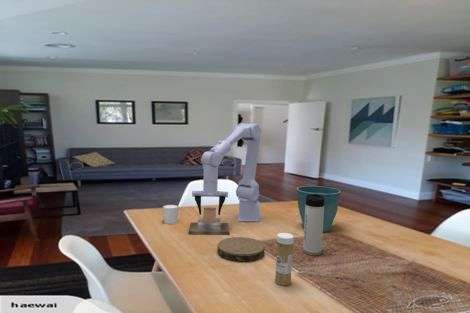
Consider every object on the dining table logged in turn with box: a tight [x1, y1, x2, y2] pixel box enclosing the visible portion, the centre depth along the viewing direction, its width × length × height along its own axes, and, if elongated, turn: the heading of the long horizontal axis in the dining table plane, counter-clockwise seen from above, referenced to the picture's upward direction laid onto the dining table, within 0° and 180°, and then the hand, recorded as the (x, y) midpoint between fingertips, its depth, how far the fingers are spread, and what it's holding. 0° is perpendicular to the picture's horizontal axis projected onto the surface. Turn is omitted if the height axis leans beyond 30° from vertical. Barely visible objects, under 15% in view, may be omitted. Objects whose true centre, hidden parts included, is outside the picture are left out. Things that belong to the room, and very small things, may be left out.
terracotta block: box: [202, 206, 217, 223], centre depth 133 cm, size 5×5×5 cm
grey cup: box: [162, 204, 179, 225], centre depth 142 cm, size 7×7×7 cm
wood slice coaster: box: [216, 236, 265, 263], centre depth 110 cm, size 16×16×3 cm
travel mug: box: [302, 194, 325, 256], centre depth 112 cm, size 6×7×20 cm
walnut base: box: [188, 217, 230, 236], centre depth 133 cm, size 16×12×4 cm
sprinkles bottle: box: [274, 232, 295, 286], centre depth 90 cm, size 5×5×14 cm
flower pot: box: [296, 185, 341, 233], centre depth 140 cm, size 18×18×17 cm
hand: (209, 214), depth 133 cm, fingers open, 7 cm apart
